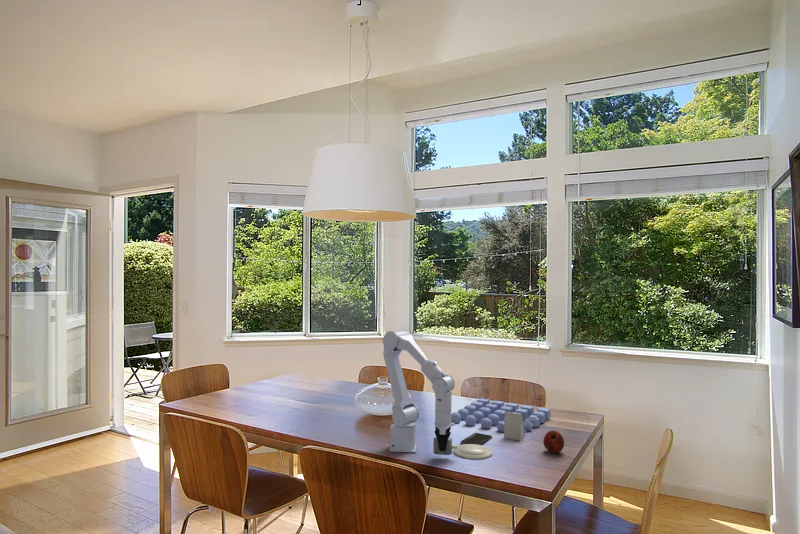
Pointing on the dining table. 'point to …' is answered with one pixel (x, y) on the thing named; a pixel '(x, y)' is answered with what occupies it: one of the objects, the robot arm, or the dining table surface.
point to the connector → (448, 448)
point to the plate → (473, 451)
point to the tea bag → (513, 426)
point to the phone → (476, 439)
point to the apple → (553, 441)
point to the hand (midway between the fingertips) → (442, 449)
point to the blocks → (499, 414)
